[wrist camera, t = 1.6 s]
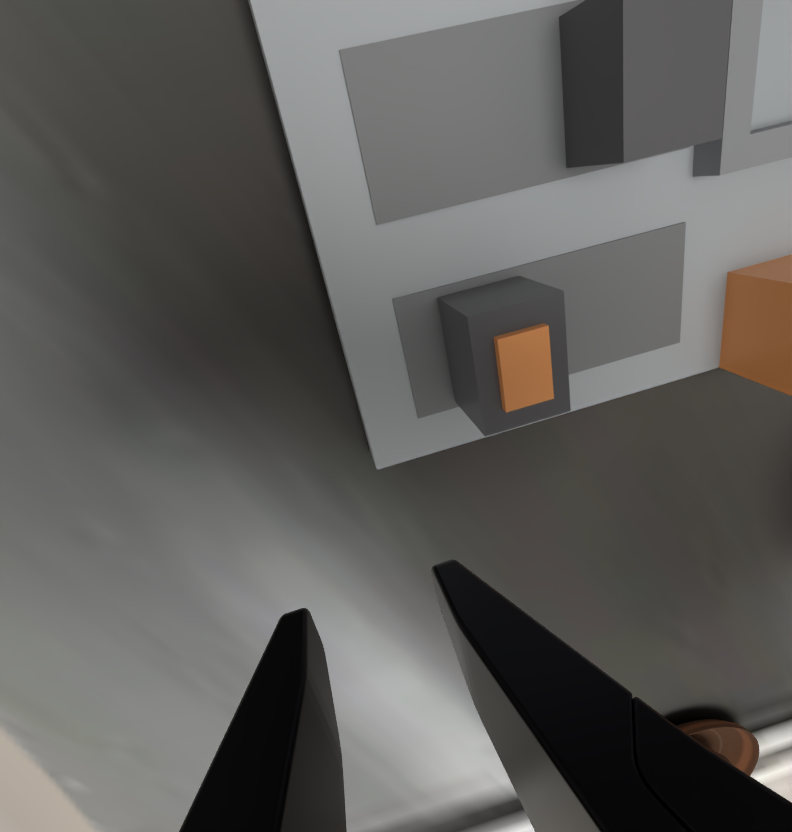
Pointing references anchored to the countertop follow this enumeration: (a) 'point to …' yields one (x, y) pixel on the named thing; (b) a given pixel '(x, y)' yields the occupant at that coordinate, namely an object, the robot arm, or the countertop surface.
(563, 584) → the countertop surface
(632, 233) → the panel
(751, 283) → the cap
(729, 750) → the cup and saucer
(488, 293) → the block
